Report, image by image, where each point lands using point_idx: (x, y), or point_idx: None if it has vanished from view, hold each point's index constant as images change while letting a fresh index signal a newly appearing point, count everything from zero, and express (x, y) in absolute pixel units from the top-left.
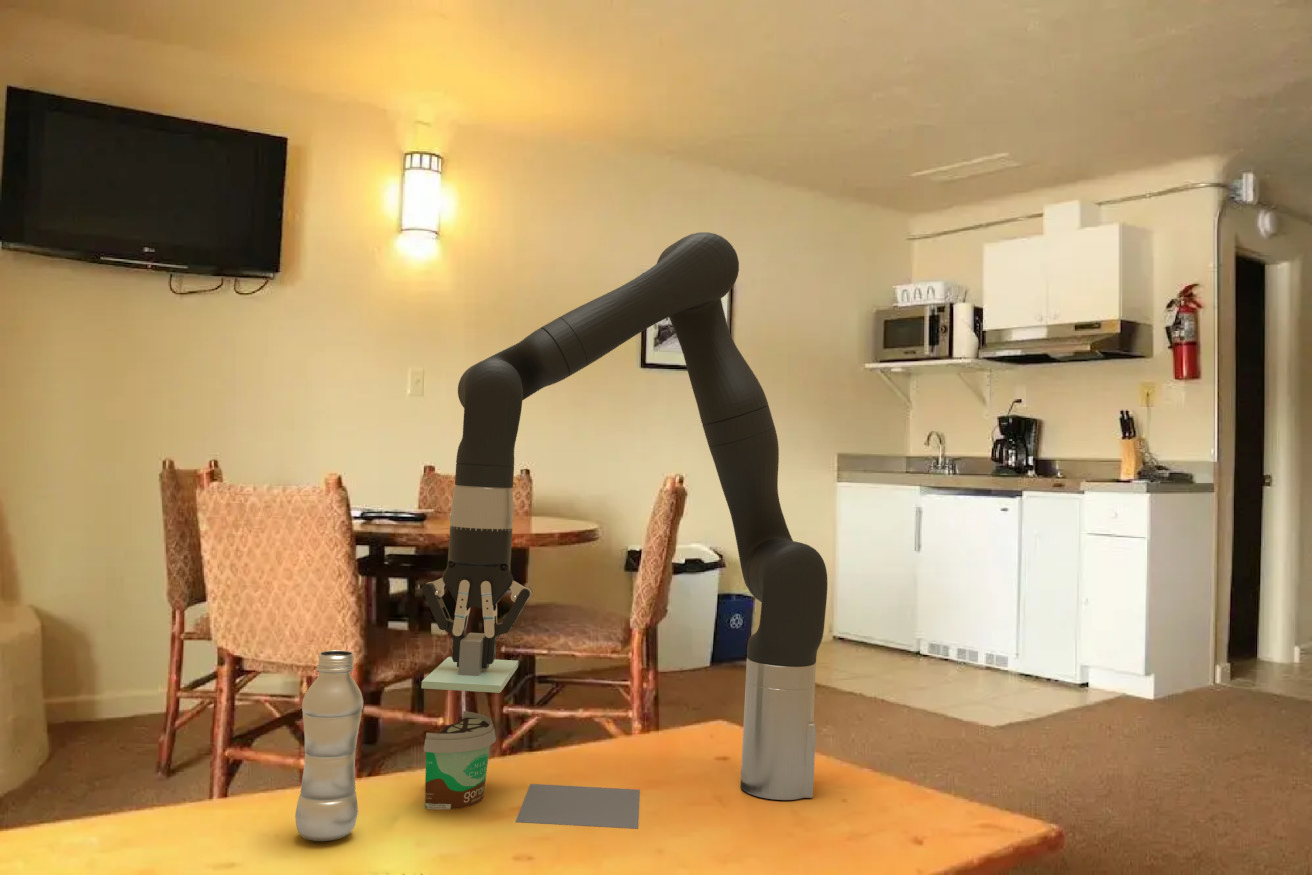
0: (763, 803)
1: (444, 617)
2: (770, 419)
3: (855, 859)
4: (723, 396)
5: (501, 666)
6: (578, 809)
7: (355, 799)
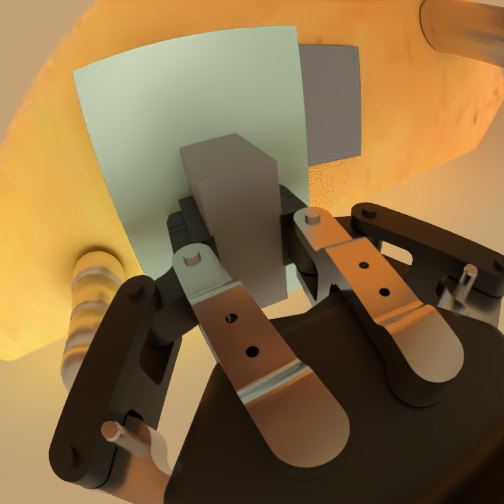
0: (431, 55)
1: (173, 362)
2: None
3: (451, 153)
4: None
5: (274, 119)
6: (310, 121)
7: (121, 282)
